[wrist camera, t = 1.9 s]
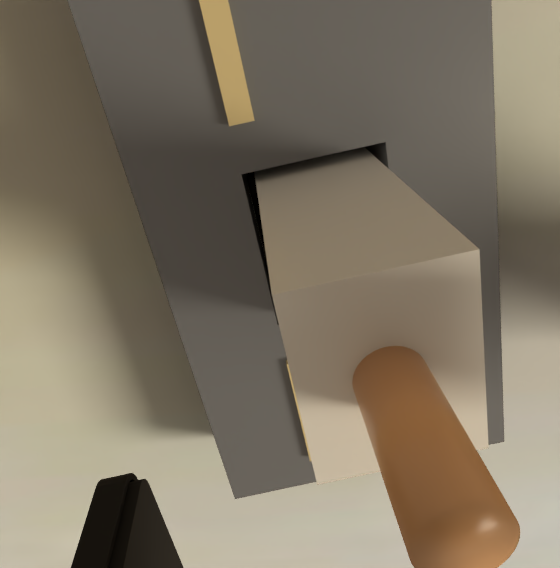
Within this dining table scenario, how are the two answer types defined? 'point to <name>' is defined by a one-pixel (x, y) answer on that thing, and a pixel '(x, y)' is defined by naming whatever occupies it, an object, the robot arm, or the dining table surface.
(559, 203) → the dining table surface
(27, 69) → the dining table surface
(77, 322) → the dining table surface
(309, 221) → the plug
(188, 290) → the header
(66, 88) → the dining table surface
